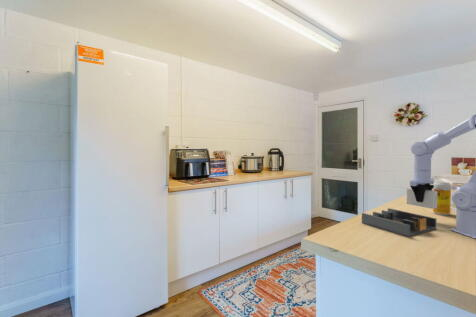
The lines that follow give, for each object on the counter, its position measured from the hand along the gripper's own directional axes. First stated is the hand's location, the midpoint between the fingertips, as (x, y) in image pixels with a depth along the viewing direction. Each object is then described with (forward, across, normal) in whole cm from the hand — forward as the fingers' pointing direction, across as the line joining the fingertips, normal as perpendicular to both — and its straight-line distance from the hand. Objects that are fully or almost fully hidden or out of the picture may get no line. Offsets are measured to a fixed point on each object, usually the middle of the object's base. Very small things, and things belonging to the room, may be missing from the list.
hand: (421, 201), depth 101 cm
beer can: (+8, -18, -1) cm, 20 cm away
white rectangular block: (+2, 0, 0) cm, 2 cm away
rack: (+8, +17, 0) cm, 19 cm away
